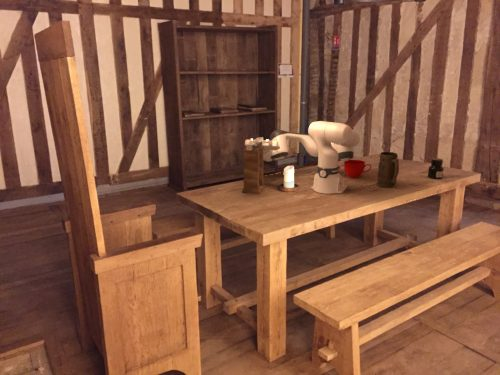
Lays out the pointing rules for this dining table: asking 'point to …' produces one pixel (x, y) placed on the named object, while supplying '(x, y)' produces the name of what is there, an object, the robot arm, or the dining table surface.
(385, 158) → the beer stein
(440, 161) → the ink bottle
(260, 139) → the brushed square bar end
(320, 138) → the robot arm
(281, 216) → the dining table surface
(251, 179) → the knife block
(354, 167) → the ceramic cup
